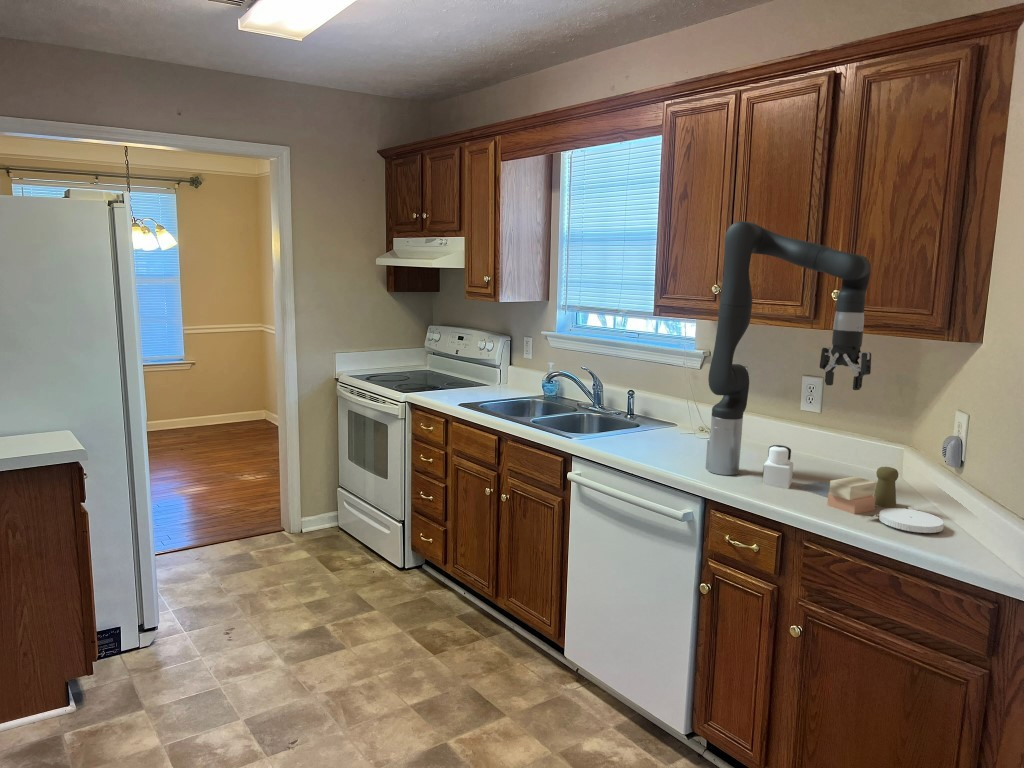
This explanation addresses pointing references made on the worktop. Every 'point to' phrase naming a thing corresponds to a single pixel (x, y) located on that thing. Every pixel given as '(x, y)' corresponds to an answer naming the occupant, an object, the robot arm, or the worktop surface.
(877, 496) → the cork
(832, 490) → the cream wooden block
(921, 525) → the plastic lid
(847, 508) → the pink hollow block
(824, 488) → the mat
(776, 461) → the medicine bottle
